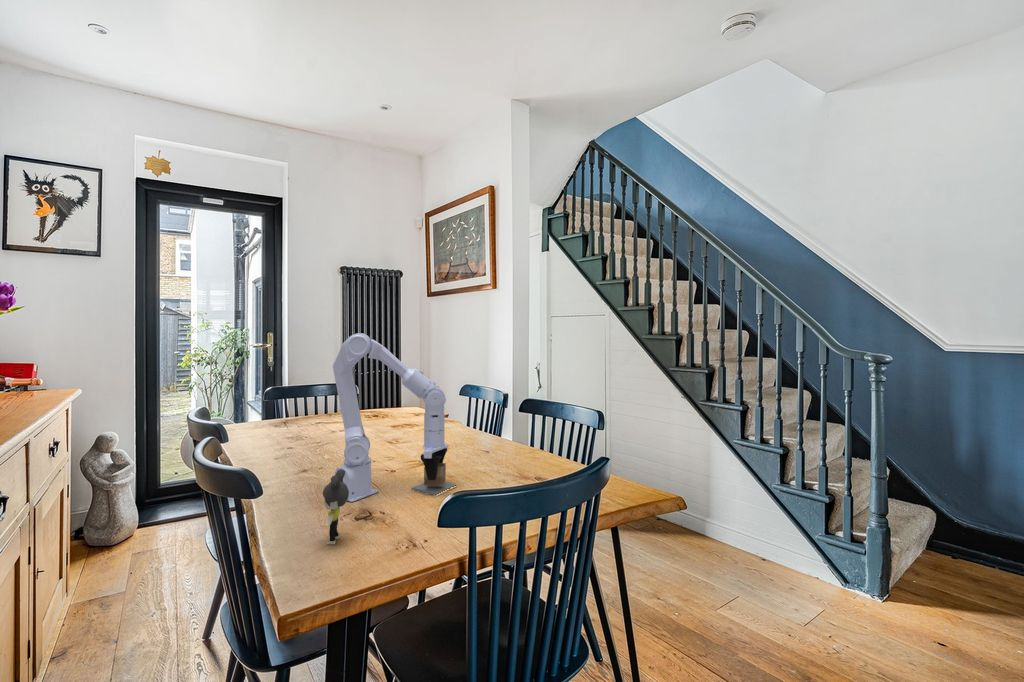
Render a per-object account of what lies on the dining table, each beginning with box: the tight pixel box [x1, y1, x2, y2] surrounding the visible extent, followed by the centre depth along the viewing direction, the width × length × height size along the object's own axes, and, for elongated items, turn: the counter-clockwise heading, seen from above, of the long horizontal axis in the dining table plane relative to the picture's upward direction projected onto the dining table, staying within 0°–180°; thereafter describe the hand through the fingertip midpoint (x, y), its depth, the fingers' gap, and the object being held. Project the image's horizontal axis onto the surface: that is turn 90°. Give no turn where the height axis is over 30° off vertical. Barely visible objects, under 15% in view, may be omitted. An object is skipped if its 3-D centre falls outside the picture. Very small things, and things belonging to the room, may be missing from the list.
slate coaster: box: [411, 481, 458, 496], centre depth 142 cm, size 9×9×1 cm
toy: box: [322, 469, 349, 545], centre depth 108 cm, size 8×5×15 cm, turn 4°
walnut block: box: [423, 462, 447, 486], centre depth 142 cm, size 5×5×5 cm
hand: (434, 476), depth 142 cm, fingers closed on walnut block, 5 cm apart
